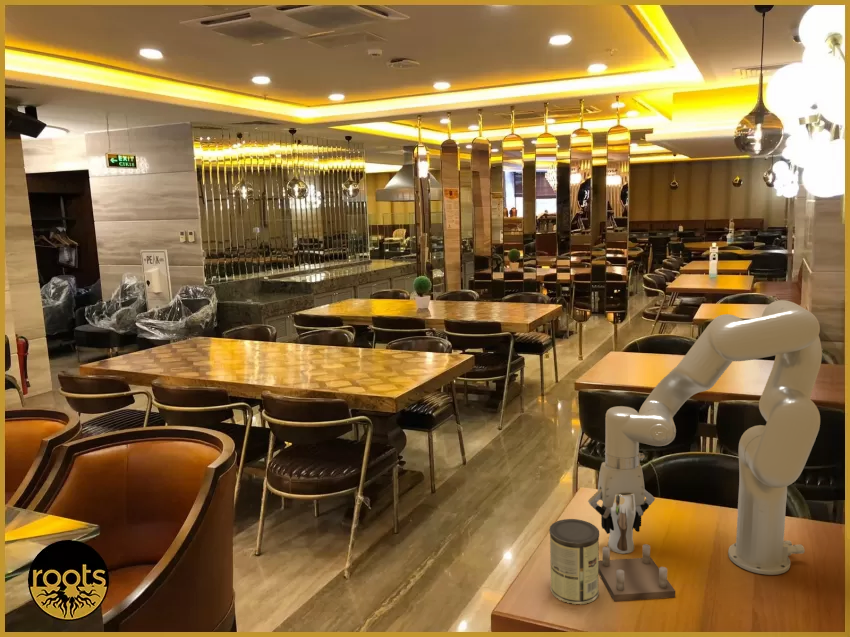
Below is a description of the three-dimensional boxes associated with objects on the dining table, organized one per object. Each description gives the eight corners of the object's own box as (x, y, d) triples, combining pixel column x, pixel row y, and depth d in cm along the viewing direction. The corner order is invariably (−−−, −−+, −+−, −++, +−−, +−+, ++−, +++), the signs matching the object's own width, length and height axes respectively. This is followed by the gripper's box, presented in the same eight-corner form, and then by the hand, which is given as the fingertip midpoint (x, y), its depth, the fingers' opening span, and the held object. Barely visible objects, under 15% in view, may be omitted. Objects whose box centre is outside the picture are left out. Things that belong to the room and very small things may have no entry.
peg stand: (650, 563, 147) (651, 541, 146) (675, 597, 134) (675, 573, 133) (595, 566, 147) (595, 544, 146) (614, 601, 134) (614, 577, 133)
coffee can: (557, 572, 145) (557, 514, 143) (603, 583, 140) (604, 523, 138) (543, 597, 136) (543, 536, 134) (592, 610, 131) (593, 547, 129)
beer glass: (642, 548, 153) (643, 489, 151) (623, 558, 150) (623, 498, 147) (618, 536, 159) (619, 480, 156) (599, 546, 155) (600, 488, 153)
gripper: (651, 451, 154) (650, 520, 158) (580, 455, 154) (581, 524, 157) (664, 463, 147) (663, 535, 150) (590, 468, 146) (590, 540, 150)
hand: (621, 529), depth 154 cm, fingers closed on beer glass, 6 cm apart
